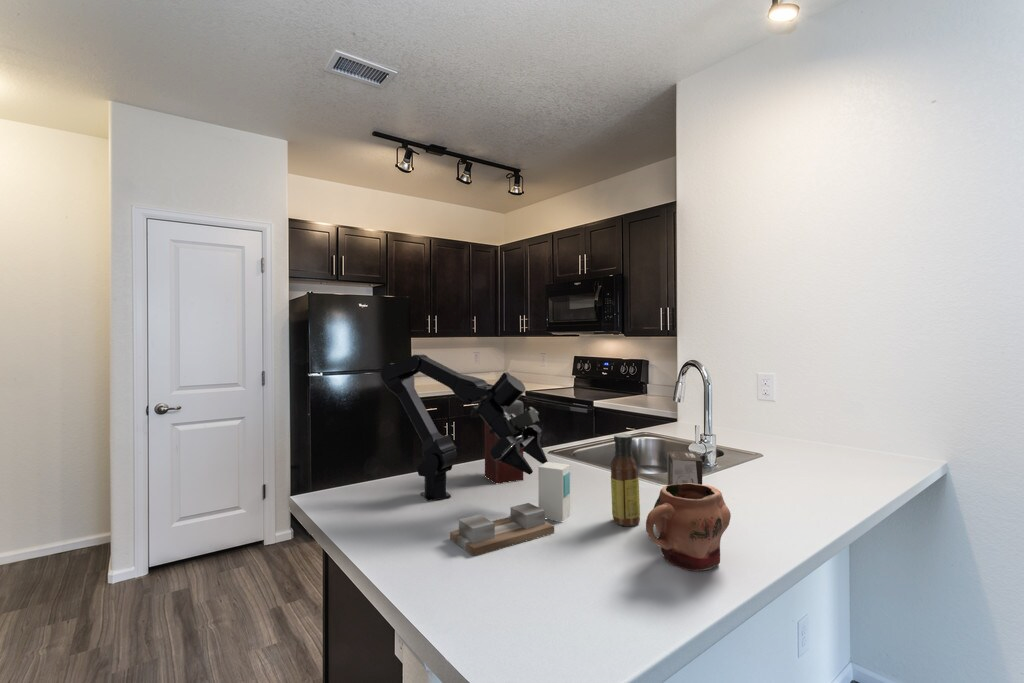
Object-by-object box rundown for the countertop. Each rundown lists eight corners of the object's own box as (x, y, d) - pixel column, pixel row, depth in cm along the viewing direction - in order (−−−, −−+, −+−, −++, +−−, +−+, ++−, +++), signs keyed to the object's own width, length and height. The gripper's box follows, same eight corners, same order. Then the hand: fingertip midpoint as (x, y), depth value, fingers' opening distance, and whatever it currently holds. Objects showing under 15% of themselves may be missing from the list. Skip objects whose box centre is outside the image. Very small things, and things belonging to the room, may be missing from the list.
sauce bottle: (641, 519, 115) (641, 433, 115) (638, 528, 109) (638, 438, 109) (612, 515, 117) (612, 431, 117) (608, 525, 111) (608, 436, 111)
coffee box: (703, 537, 105) (703, 460, 105) (671, 534, 106) (671, 459, 106) (696, 521, 114) (696, 451, 114) (666, 519, 115) (666, 449, 115)
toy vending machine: (507, 470, 157) (507, 382, 156) (523, 480, 147) (523, 385, 146) (481, 474, 153) (481, 383, 153) (496, 484, 143) (496, 386, 143)
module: (538, 518, 116) (538, 466, 116) (546, 511, 120) (546, 461, 120) (563, 522, 113) (563, 469, 113) (570, 515, 118) (570, 464, 118)
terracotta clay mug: (681, 593, 82) (681, 509, 82) (624, 565, 92) (624, 490, 92) (746, 561, 93) (746, 487, 93) (690, 539, 103) (690, 473, 103)
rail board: (449, 538, 104) (449, 517, 104) (526, 518, 115) (526, 499, 115) (474, 556, 96) (473, 533, 96) (554, 532, 107) (554, 512, 107)
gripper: (500, 402, 112) (546, 455, 108) (534, 393, 129) (574, 439, 124) (471, 434, 116) (514, 487, 111) (507, 421, 133) (546, 467, 128)
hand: (539, 468), depth 118 cm, fingers open, 9 cm apart
